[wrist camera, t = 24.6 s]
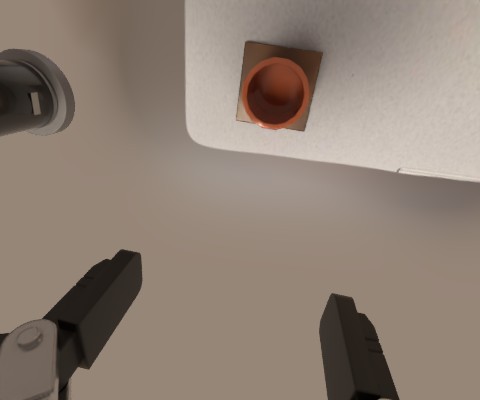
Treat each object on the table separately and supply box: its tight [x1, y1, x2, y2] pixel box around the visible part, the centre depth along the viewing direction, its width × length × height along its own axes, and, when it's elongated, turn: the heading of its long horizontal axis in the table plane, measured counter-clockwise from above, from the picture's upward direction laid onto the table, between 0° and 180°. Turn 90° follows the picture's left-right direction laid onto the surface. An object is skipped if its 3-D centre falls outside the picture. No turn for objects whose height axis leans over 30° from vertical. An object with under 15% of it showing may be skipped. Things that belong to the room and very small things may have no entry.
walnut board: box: [236, 42, 323, 131], centre depth 33 cm, size 9×9×1 cm
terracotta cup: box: [242, 57, 310, 130], centre depth 29 cm, size 6×6×8 cm
